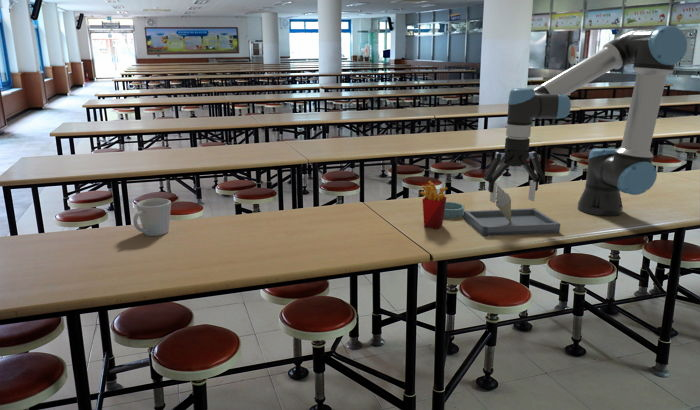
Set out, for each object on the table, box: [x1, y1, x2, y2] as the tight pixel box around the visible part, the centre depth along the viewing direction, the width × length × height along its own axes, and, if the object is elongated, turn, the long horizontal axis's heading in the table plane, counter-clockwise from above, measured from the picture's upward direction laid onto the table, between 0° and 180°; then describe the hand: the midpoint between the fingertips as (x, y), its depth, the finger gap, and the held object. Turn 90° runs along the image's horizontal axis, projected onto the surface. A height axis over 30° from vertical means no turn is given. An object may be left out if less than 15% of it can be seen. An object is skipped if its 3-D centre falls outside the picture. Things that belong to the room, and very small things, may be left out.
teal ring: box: [443, 201, 466, 219], centre depth 198 cm, size 11×11×3 cm
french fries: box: [419, 180, 448, 230], centre depth 183 cm, size 9×8×15 cm
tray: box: [463, 207, 561, 237], centre depth 186 cm, size 26×18×3 cm
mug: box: [132, 197, 172, 237], centre depth 174 cm, size 10×15×10 cm
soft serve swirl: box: [495, 184, 512, 223], centre depth 182 cm, size 5×5×15 cm
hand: (511, 200), depth 184 cm, fingers open, 13 cm apart
